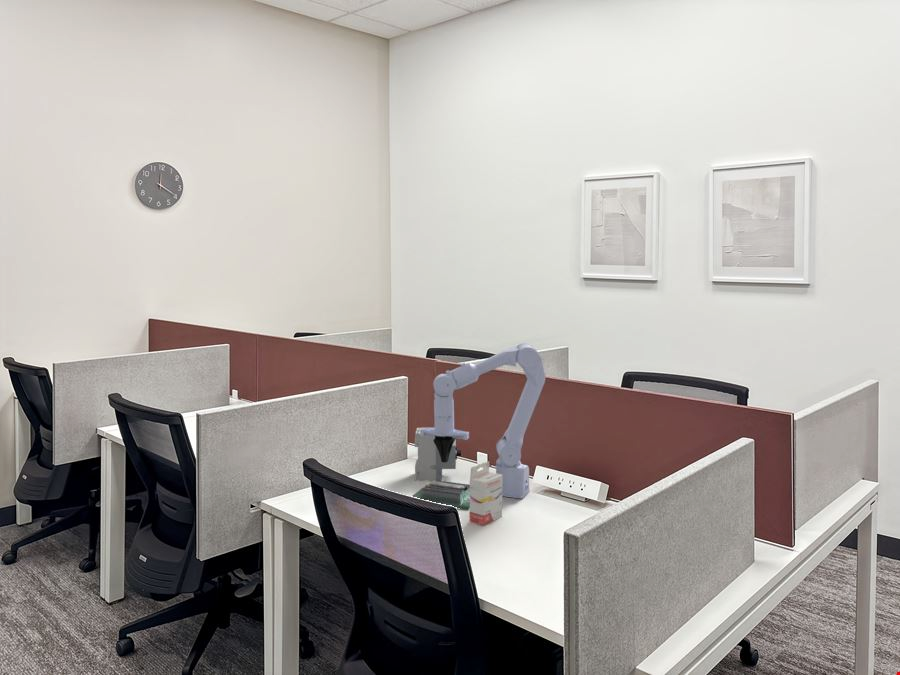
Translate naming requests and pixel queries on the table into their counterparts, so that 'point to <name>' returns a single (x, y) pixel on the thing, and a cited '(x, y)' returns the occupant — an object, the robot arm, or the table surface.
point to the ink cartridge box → (485, 495)
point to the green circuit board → (446, 495)
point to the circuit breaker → (432, 458)
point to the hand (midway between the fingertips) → (444, 461)
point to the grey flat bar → (447, 485)
